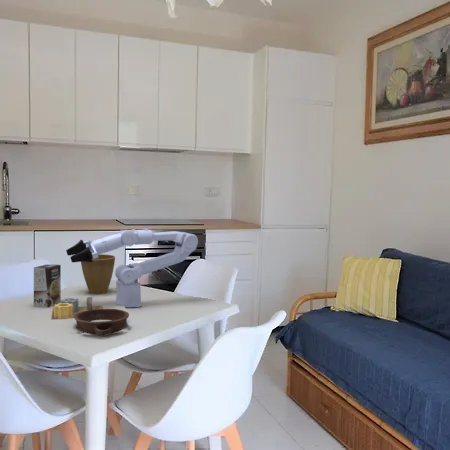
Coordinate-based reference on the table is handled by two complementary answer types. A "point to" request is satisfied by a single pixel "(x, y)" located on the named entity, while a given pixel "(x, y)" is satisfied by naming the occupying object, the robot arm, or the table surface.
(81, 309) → the gear board
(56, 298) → the coffee box
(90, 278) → the plant pot
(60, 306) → the ochre gear
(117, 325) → the dish
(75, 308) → the slate gear
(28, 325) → the table surface
